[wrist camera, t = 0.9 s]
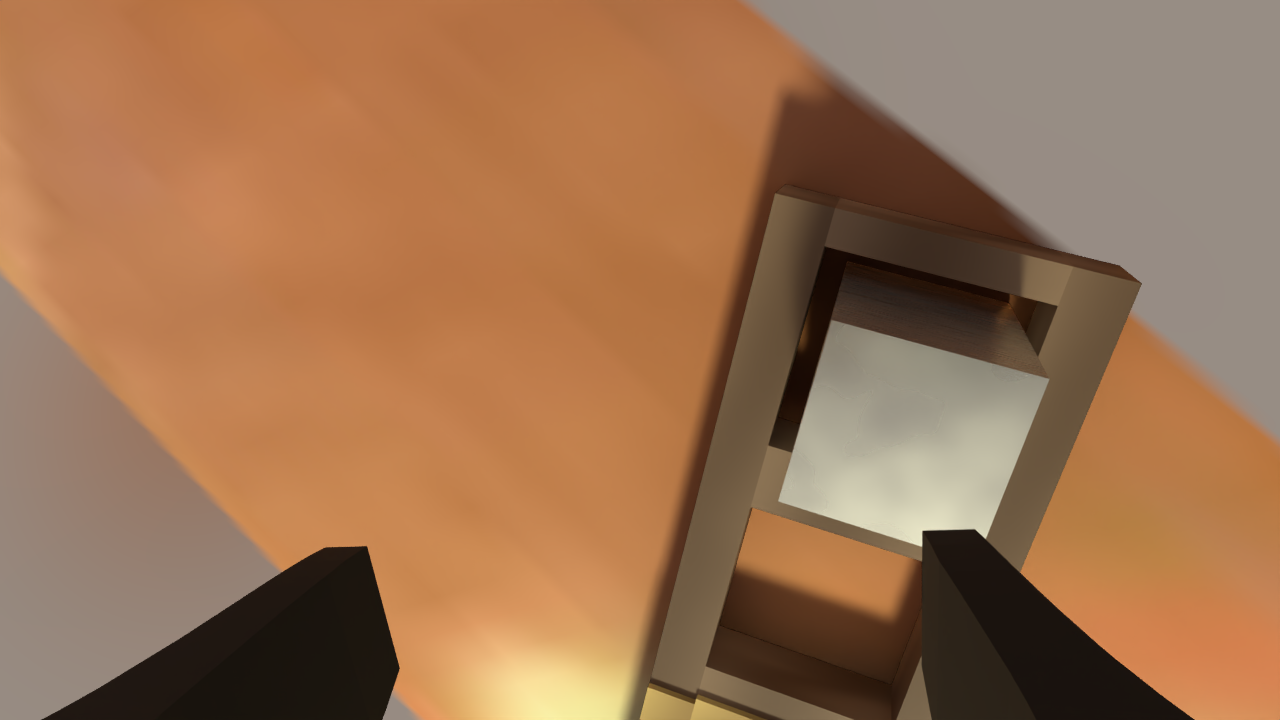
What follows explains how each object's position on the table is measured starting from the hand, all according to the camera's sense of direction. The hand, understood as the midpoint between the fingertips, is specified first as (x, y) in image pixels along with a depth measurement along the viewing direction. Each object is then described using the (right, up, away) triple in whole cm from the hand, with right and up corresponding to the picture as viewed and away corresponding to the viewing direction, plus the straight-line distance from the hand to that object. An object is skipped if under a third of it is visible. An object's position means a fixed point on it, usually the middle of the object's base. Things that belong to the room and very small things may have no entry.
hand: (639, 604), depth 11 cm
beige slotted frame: (+5, -3, +13) cm, 15 cm away
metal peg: (+7, +3, +11) cm, 13 cm away
